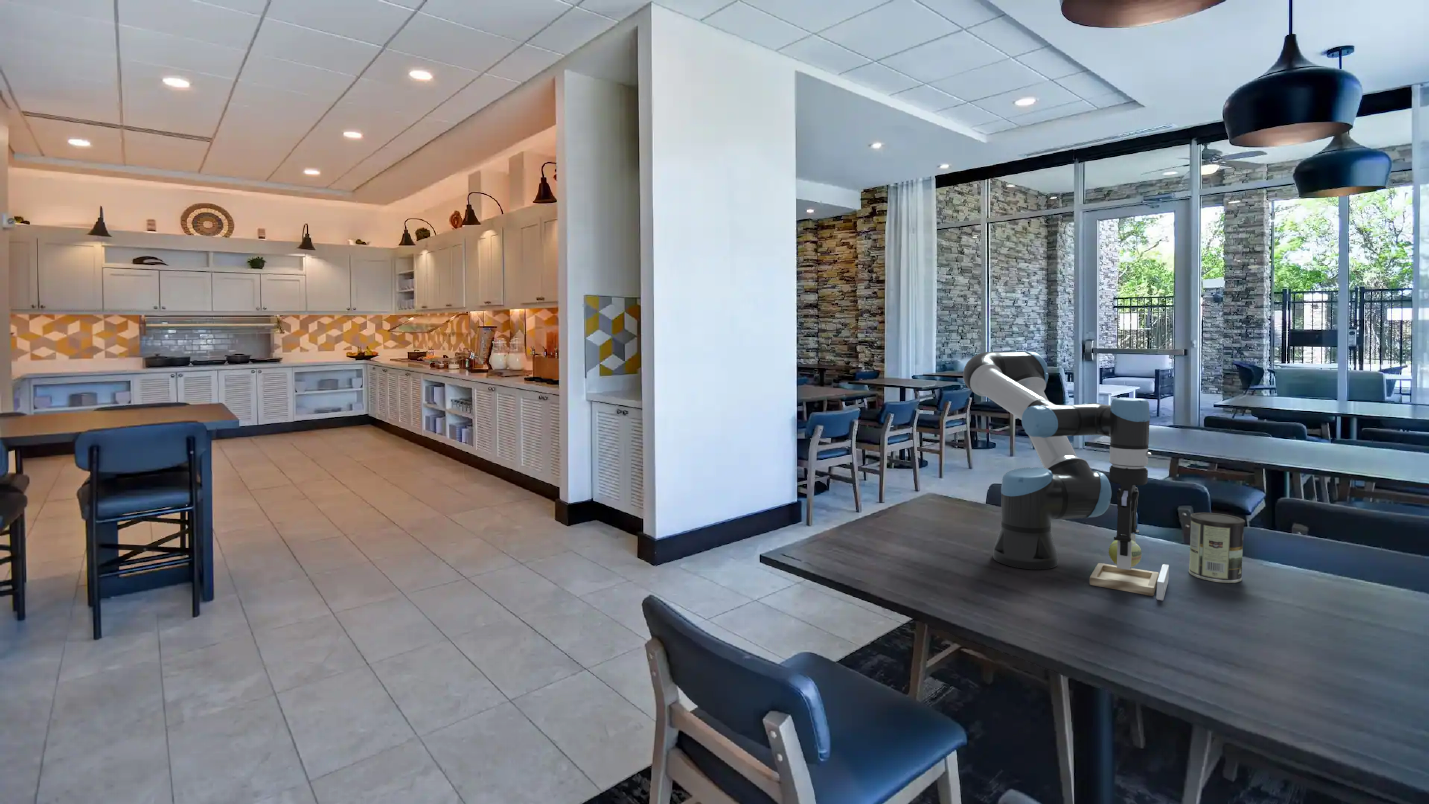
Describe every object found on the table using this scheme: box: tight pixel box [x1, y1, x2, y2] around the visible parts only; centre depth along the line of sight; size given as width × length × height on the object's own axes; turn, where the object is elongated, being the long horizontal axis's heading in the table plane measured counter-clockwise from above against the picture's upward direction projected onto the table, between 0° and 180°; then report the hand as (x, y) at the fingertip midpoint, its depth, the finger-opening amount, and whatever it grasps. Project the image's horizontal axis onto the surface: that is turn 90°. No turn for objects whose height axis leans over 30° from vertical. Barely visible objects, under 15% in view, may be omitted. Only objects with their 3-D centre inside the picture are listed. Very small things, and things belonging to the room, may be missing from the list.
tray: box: [1089, 562, 1160, 597], centre depth 158 cm, size 12×12×2 cm
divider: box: [1155, 563, 1170, 601], centre depth 153 cm, size 1×14×4 cm, turn 143°
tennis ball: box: [1107, 540, 1142, 568], centre depth 157 cm, size 6×7×7 cm
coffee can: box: [1188, 512, 1246, 584], centre depth 161 cm, size 10×10×14 cm
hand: (1125, 564), depth 157 cm, fingers closed on tennis ball, 6 cm apart
